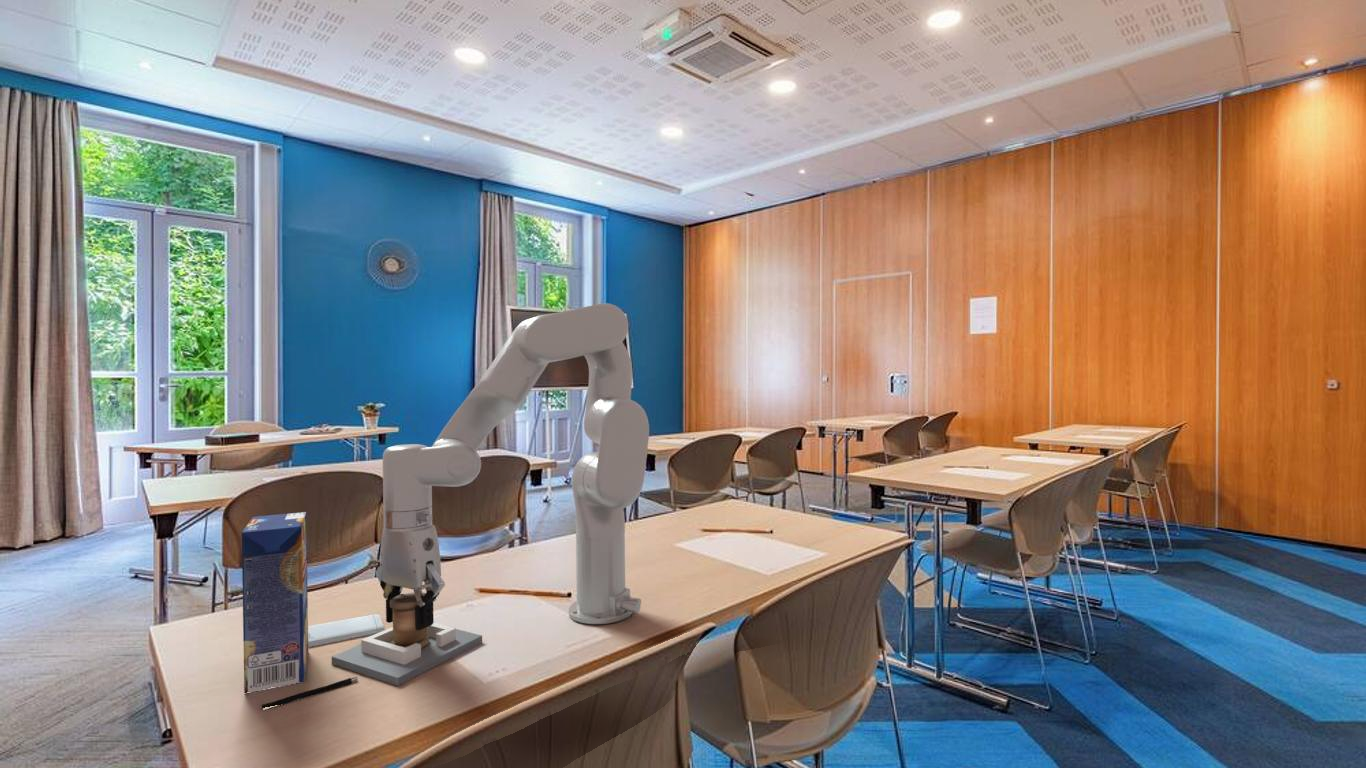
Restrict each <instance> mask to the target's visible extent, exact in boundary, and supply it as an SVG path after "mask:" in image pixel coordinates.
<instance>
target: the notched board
mask: <svg viewBox="0 0 1366 768" xmlns="http://www.w3.org/2000/svg"><path fill="white" fill-rule="evenodd" d="M427 635H428V636H429V644H428V646H426V647H425V648H423V649H421V644H418V643H415V644H413V645H410V646H408V647H406V648H404V647H401V646H397V645H394V644H391V642H392V641H393V626H392V627H389V628H386V629H384V631H382V632H379V633H376V634H371V635H369V636H368V637H365V638H361V643H360V644H359V645H358V644H357V645H356V646H354V647H351V648H349V649H346V650H344V651H342V652H339V653H338V654H337V653H336V654H335V655H332V656H331V665H334V666H337V667H340V668H342V669H347V670H348V671H349V670H350V671H353V672H355V673H358V674H361V675H364V676H367V677H370V678H373V679H375V680H379V681H382V682H386V683H388V684H392V685H394V686H400V685H402V684H404V683H406V682H408V681H410V680H411V679H413V678H416V677H417V676H419V675H422V674H423V673H425V672H427V671H430V670H431V669H433V668H435V667H437V666H439V665H441V664H443V663H445V662H447V661H449V660H451V659H452V658H455V657H457V656H458V655H461V654H463V653H464V652H466V651H468V650H471V649H472V648H473V647H476V646H477V645H478V646H479V645H481V644H482V643H483V635H482V634H477V633H473V632H469V631H466V630H461V629H457V628H456V627H453V626H452V627H451V626H448V625H445V624H441V623H437V622H434V623H433V624H432V625H431V626H428V627H427Z"/></svg>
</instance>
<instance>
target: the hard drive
mask: <svg viewBox="0 0 1366 768" xmlns="http://www.w3.org/2000/svg"><path fill="white" fill-rule="evenodd" d="M384 630H385V625H384V622H383V619H382V618H381V614H380V613H375V614H369V615H364V616H358V617H357V616H356V617H352V618H346V619H342V620H336V621H329V622H323V623H319V624H318V623H317V624H312V625H308V648H312V646H313V647H317V645H318V646H321V645H322V646H323V645H325V644H326V645H327V644H331V643H336V641H337V642H341V640H342V641H347V640H350V638H352V639H356V637H357V638H361V637H366V636H372V635H374V634H377V633H379V632H382V631H384ZM346 639H347V640H346Z"/></svg>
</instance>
